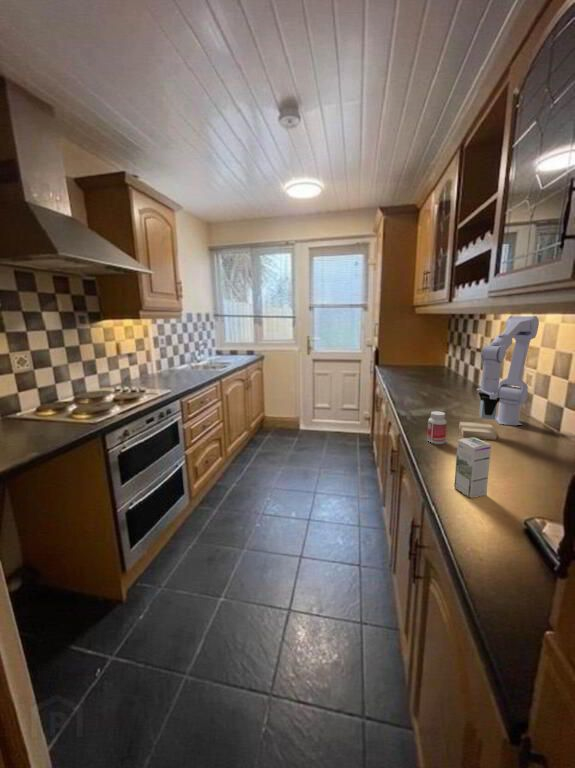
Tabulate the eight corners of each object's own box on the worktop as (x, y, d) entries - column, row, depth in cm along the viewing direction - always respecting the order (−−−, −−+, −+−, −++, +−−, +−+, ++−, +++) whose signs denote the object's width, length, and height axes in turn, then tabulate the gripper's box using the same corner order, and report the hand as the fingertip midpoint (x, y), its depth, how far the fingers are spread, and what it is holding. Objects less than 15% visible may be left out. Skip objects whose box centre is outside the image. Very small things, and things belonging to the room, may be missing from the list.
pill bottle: (448, 442, 124) (450, 413, 121) (438, 446, 120) (440, 416, 118) (433, 437, 129) (435, 409, 126) (423, 441, 126) (425, 412, 123)
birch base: (459, 427, 138) (459, 421, 138) (489, 429, 135) (490, 423, 134) (463, 436, 128) (463, 430, 128) (496, 439, 125) (497, 433, 124)
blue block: (479, 415, 131) (480, 400, 130) (492, 415, 130) (493, 400, 129) (481, 418, 127) (482, 403, 126) (495, 419, 126) (496, 404, 124)
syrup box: (487, 495, 89) (493, 443, 86) (469, 499, 87) (474, 447, 84) (470, 485, 94) (474, 436, 91) (452, 488, 92) (456, 438, 89)
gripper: (474, 374, 133) (471, 407, 136) (482, 381, 120) (478, 417, 123) (495, 374, 131) (491, 408, 134) (505, 382, 118) (501, 419, 121)
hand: (487, 412), depth 128 cm, fingers closed on blue block, 4 cm apart
